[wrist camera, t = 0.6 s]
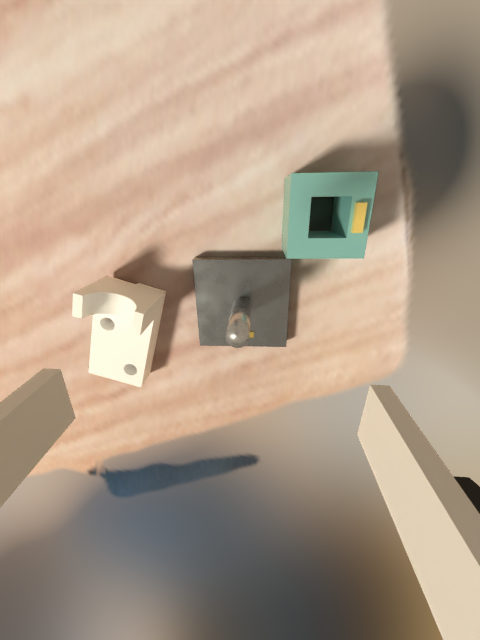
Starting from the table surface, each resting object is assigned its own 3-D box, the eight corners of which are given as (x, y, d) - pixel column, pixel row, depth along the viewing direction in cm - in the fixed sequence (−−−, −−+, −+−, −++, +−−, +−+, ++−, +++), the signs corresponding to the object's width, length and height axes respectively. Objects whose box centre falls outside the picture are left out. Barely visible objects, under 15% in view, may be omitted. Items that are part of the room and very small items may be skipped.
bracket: (111, 273, 33) (73, 293, 27) (166, 290, 34) (143, 314, 27) (102, 358, 39) (69, 392, 32) (150, 371, 39) (128, 408, 32)
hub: (284, 178, 28) (292, 172, 22) (354, 176, 27) (381, 170, 21) (281, 247, 31) (287, 259, 25) (344, 247, 30) (366, 259, 24)
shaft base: (195, 257, 32) (171, 279, 23) (290, 256, 31) (302, 279, 22) (202, 339, 36) (184, 384, 27) (285, 341, 35) (293, 387, 27)
